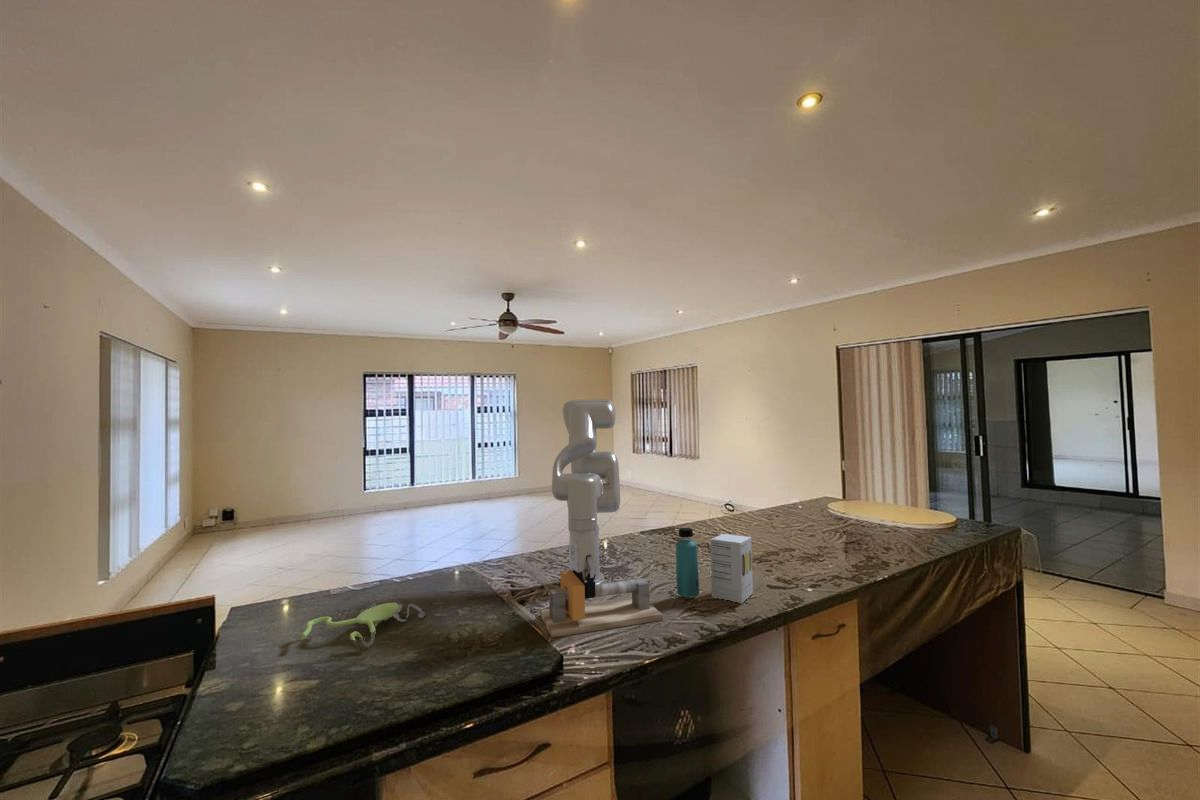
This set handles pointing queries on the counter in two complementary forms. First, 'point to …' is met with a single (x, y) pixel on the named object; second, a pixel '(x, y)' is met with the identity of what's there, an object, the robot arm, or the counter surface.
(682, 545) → the beverage bottle
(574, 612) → the brown slab
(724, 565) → the supplement box
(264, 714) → the counter surface
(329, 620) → the figurine
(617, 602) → the pipe rig
